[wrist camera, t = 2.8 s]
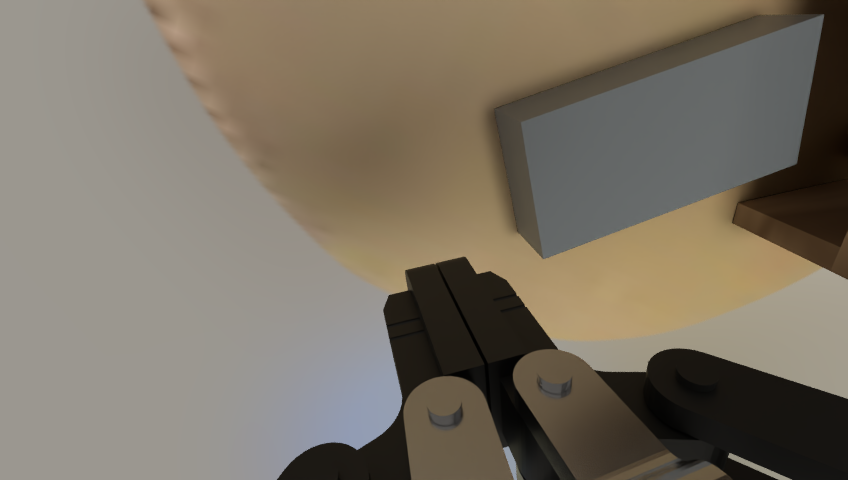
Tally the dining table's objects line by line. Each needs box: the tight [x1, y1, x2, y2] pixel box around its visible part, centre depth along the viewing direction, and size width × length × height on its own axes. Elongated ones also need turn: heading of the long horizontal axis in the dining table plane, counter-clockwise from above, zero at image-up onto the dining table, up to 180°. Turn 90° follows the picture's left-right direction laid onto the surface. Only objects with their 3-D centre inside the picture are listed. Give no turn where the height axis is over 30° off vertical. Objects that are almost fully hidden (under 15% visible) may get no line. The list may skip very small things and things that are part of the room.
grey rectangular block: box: [494, 14, 824, 259], centre depth 18 cm, size 6×12×3 cm, turn 106°
